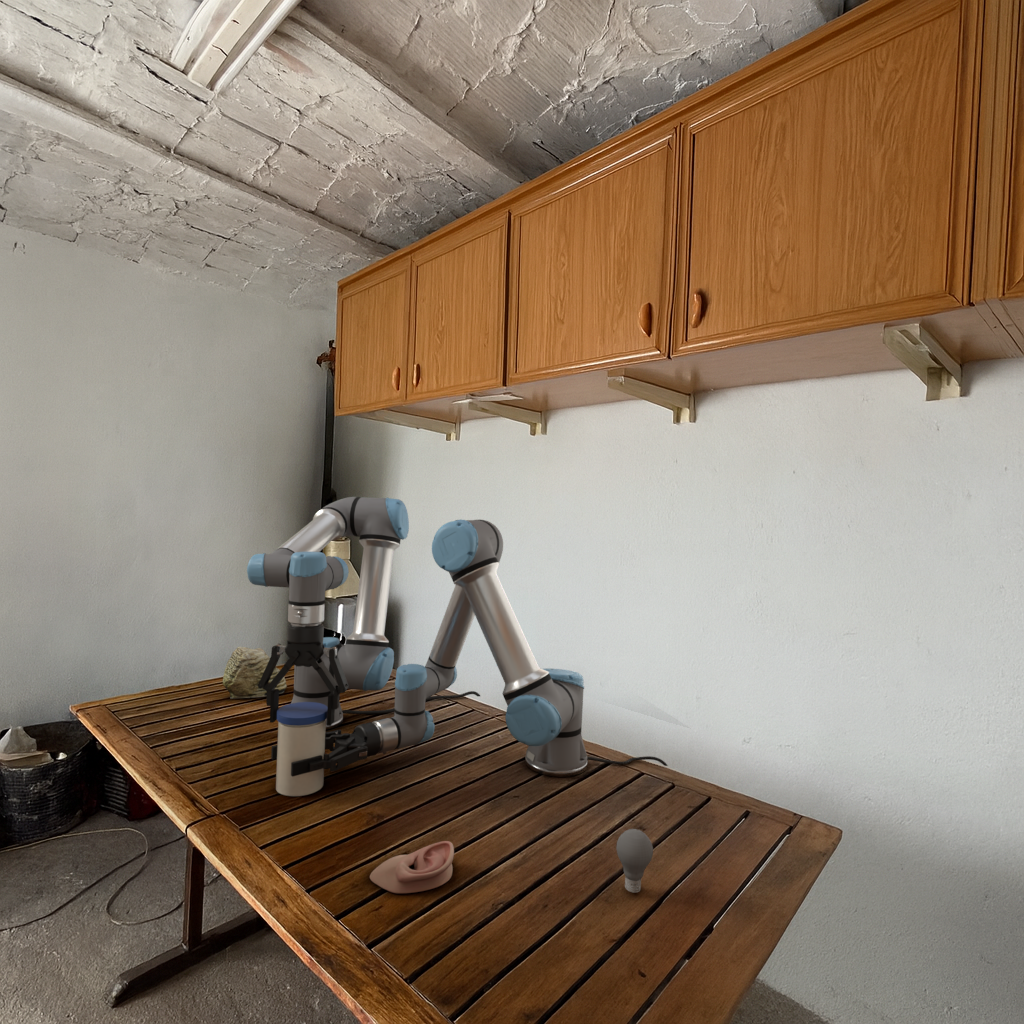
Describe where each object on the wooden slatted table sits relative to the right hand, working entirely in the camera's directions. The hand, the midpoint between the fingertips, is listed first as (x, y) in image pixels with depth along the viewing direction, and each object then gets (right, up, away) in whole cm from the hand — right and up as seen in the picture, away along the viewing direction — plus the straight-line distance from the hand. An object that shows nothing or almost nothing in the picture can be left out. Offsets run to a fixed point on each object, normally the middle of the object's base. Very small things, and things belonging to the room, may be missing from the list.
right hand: (281, 760), depth 135 cm
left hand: (+3, +7, +3) cm, 9 cm away
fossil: (-31, -4, +63) cm, 70 cm away
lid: (+4, +10, +3) cm, 11 cm away
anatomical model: (+32, -8, -28) cm, 44 cm away
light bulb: (+69, -10, -30) cm, 76 cm away
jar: (+3, -7, +3) cm, 8 cm away
